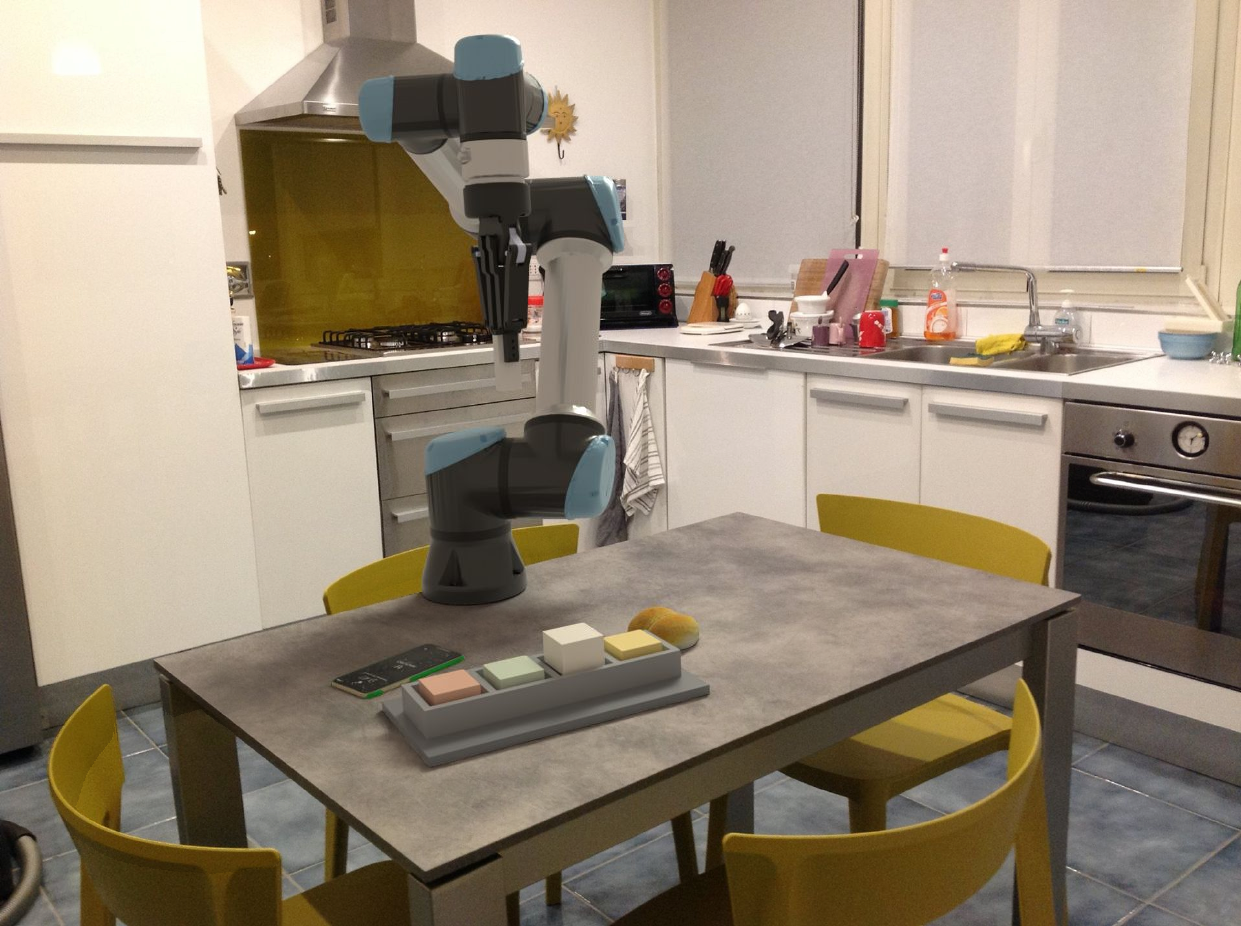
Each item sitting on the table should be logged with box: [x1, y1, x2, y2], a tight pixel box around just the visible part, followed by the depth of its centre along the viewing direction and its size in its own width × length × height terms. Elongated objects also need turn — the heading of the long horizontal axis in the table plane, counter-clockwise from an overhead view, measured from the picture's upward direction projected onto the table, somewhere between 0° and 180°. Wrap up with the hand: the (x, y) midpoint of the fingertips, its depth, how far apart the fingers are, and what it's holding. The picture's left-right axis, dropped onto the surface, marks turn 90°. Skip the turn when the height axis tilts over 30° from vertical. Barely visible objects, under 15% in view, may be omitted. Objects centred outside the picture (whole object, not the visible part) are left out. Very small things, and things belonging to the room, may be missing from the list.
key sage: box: [482, 654, 545, 691], centre depth 121 cm, size 5×5×4 cm
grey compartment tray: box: [381, 630, 711, 768], centre depth 123 cm, size 16×32×4 cm, turn 118°
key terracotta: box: [418, 668, 481, 707], centre depth 118 cm, size 5×5×4 cm
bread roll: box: [626, 606, 700, 651], centre depth 140 cm, size 8×9×4 cm
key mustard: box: [604, 630, 662, 661], centre depth 128 cm, size 5×5×4 cm
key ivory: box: [542, 622, 605, 675], centre depth 124 cm, size 5×5×4 cm
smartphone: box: [330, 643, 465, 699], centre depth 134 cm, size 8×1×15 cm
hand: (509, 389), depth 132 cm, fingers closed
